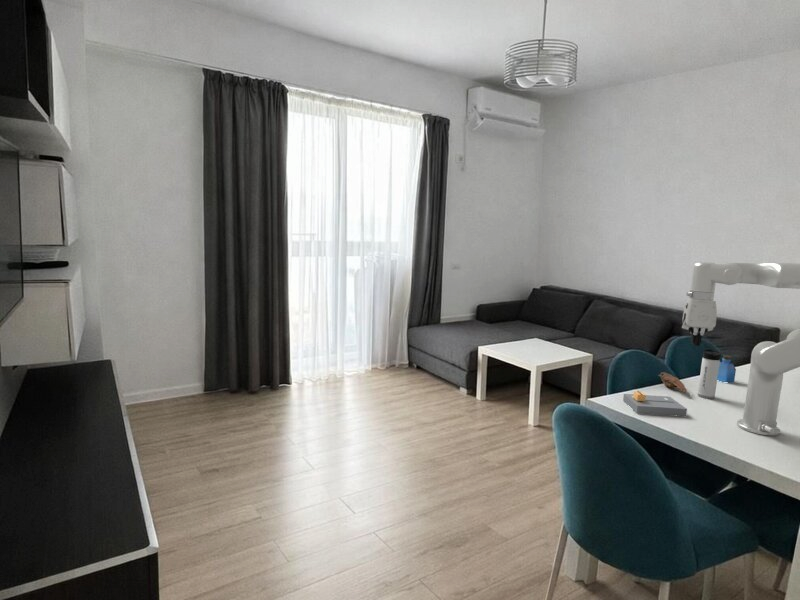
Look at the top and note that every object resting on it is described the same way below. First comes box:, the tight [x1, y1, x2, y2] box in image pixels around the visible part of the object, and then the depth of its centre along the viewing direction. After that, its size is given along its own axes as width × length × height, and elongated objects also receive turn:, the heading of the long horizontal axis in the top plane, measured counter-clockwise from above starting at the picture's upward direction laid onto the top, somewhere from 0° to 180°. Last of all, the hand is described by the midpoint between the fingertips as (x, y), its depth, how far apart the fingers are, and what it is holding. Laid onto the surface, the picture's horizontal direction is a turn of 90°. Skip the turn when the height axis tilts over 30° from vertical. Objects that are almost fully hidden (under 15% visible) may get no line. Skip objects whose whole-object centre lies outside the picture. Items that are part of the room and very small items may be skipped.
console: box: [622, 393, 688, 417], centre depth 196 cm, size 14×18×3 cm
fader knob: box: [632, 390, 647, 401], centre depth 196 cm, size 4×3×3 cm
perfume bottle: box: [717, 354, 737, 383], centre depth 239 cm, size 6×6×12 cm
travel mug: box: [697, 348, 721, 400], centre depth 213 cm, size 6×7×20 cm
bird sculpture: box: [657, 371, 688, 393], centre depth 223 cm, size 7×25×5 cm, turn 178°
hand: (695, 345), depth 187 cm, fingers closed
